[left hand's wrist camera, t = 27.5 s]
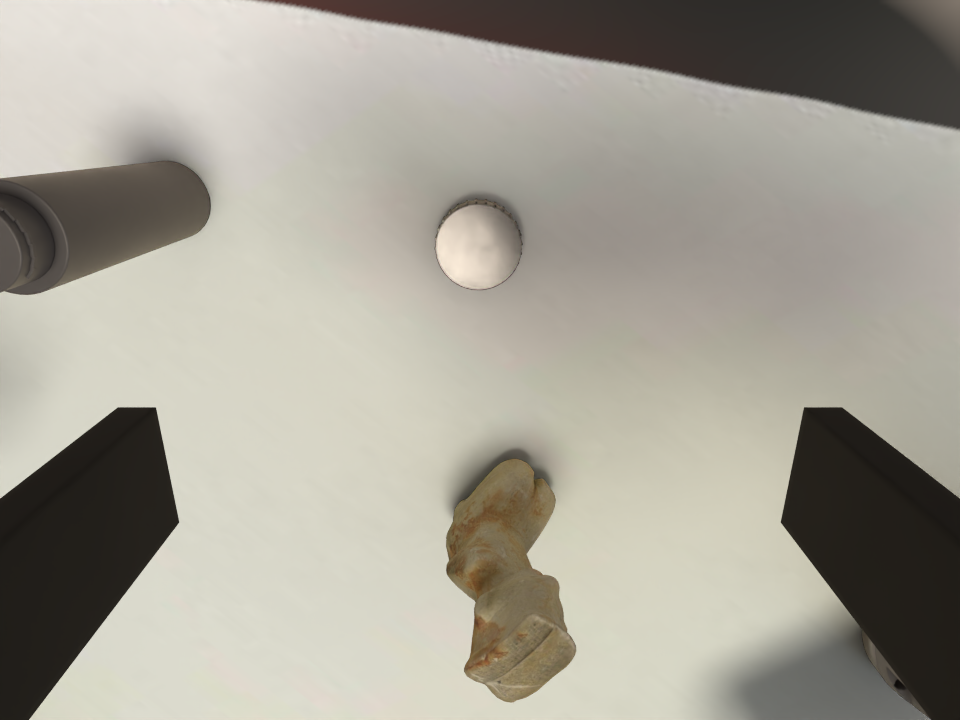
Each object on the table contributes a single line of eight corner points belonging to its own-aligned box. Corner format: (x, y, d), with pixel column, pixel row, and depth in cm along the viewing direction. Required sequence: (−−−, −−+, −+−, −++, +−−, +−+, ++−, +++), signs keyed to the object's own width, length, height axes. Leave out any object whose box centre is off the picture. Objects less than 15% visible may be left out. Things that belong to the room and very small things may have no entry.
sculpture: (566, 494, 42) (609, 676, 28) (487, 551, 44) (490, 750, 30) (511, 437, 41) (528, 600, 27) (431, 499, 42) (407, 682, 28)
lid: (449, 187, 35) (447, 191, 33) (531, 212, 36) (534, 217, 34) (427, 269, 37) (424, 277, 35) (506, 292, 38) (507, 301, 36)
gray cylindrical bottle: (226, 206, 36) (61, 257, 22) (176, 253, 37) (-13, 331, 23) (168, 144, 35) (-46, 156, 20) (118, 194, 36) (-119, 239, 21)
